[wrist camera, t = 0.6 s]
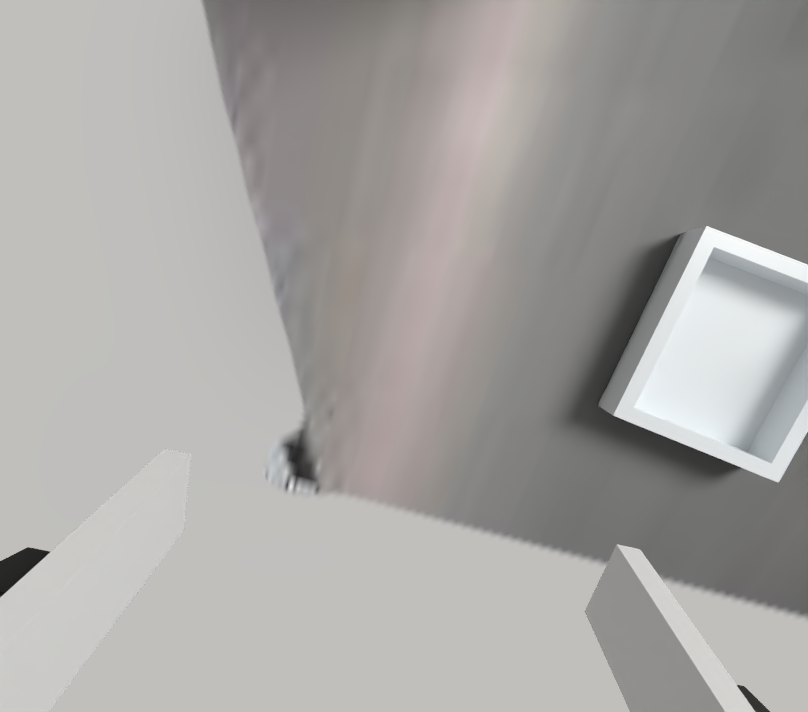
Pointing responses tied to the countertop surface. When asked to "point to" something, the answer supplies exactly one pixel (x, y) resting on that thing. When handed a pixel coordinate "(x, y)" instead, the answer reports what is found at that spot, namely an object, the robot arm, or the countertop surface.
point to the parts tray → (721, 354)
